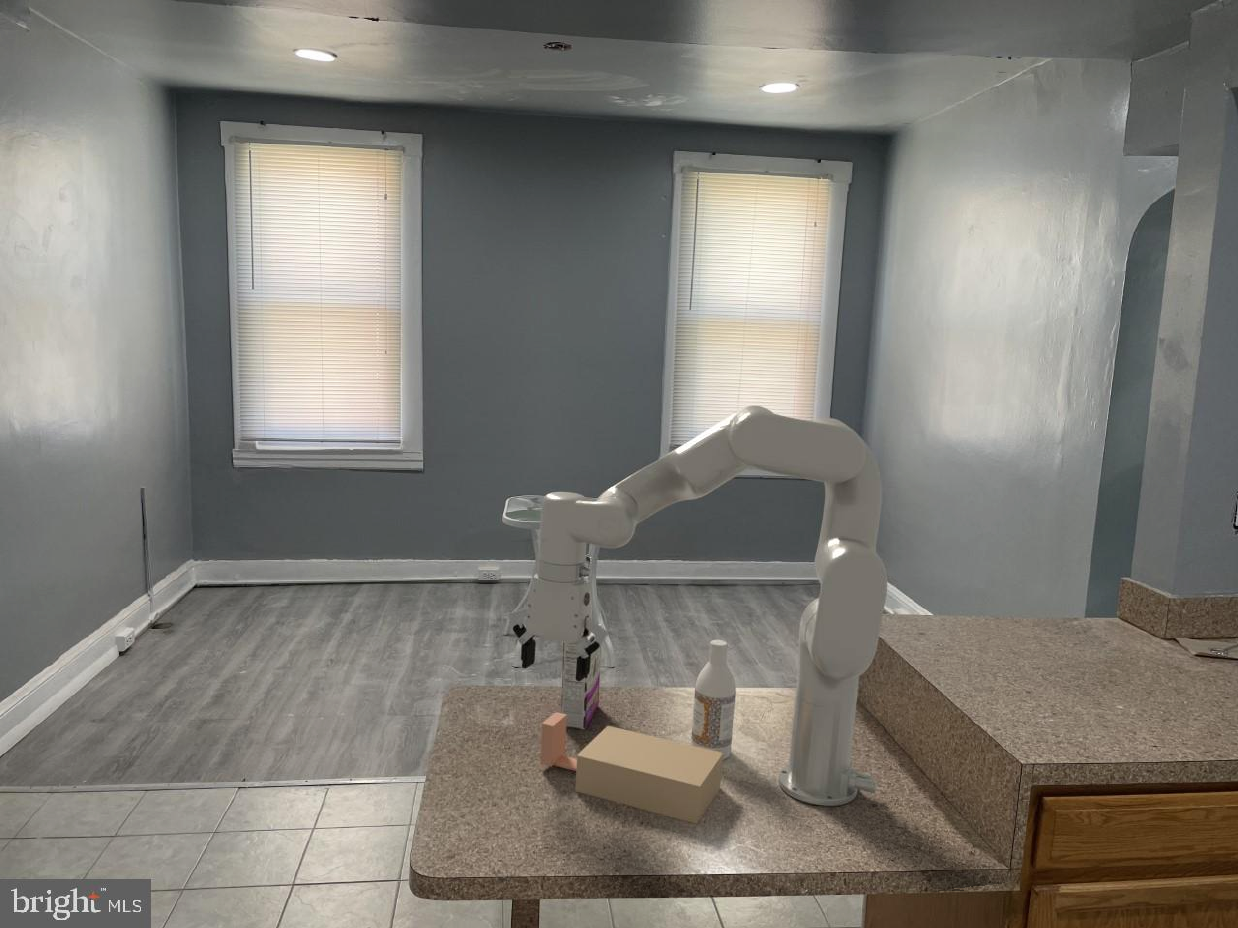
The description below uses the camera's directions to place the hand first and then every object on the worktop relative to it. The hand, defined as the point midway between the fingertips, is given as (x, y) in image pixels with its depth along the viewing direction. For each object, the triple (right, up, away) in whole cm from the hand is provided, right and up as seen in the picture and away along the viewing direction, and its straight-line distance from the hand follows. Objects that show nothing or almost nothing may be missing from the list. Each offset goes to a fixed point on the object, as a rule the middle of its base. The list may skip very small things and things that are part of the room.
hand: (554, 671), depth 151 cm
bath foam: (+26, -16, +10) cm, 32 cm away
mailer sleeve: (+15, -18, -4) cm, 24 cm away
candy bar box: (+3, -13, +21) cm, 25 cm away
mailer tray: (+11, -16, -2) cm, 20 cm away
